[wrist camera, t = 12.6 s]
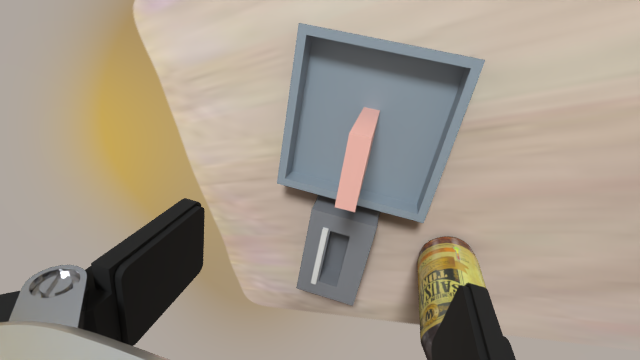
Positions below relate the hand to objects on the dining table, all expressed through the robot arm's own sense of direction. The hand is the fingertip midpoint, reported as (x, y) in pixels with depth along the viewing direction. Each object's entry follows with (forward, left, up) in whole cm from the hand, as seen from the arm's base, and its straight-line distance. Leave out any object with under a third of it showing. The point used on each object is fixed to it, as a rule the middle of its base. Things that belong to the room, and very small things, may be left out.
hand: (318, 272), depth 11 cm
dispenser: (0, +15, -24) cm, 28 cm away
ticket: (0, +1, -23) cm, 23 cm away
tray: (0, 0, -24) cm, 24 cm away
